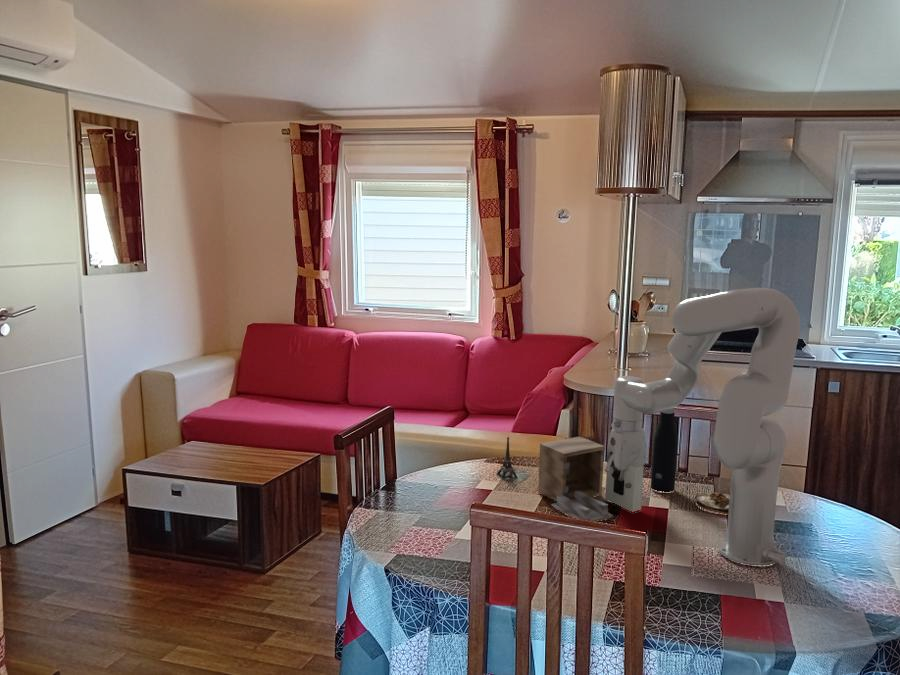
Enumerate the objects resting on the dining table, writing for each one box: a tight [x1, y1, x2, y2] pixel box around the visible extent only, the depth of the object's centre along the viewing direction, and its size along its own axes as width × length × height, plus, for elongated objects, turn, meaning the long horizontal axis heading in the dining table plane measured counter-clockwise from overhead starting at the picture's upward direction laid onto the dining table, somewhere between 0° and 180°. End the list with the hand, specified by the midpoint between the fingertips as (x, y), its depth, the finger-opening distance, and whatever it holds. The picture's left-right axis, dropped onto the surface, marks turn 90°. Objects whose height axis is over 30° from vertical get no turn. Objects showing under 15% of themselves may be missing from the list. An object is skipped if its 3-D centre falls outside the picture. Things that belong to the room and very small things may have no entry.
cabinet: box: [537, 436, 613, 521], centre depth 189 cm, size 23×18×14 cm
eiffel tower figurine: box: [495, 436, 531, 488], centre depth 209 cm, size 15×10×13 cm
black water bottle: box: [650, 408, 679, 492], centre depth 199 cm, size 6×6×30 cm
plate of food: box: [694, 491, 730, 514], centre depth 189 cm, size 15×15×4 cm
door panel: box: [604, 464, 645, 512], centre depth 188 cm, size 10×4×12 cm, turn 31°
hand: (623, 491), depth 189 cm, fingers closed on door panel, 3 cm apart
